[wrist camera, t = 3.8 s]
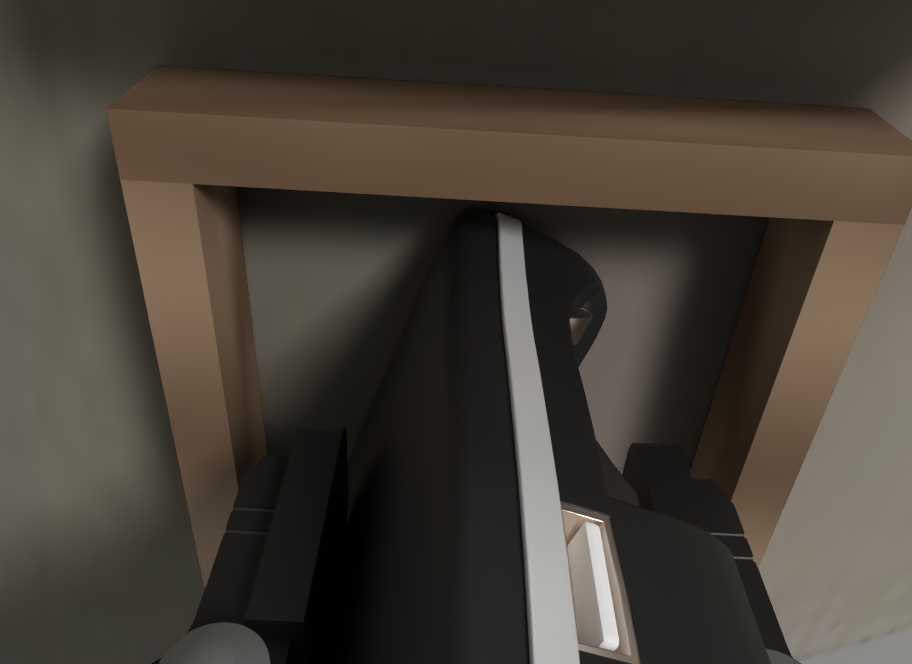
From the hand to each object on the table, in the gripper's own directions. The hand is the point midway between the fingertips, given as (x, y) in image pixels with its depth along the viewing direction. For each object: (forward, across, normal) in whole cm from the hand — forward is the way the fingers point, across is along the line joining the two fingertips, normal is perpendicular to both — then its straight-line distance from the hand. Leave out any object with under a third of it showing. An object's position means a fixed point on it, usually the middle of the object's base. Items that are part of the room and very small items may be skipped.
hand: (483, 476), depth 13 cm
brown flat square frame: (+3, 0, 0) cm, 3 cm away
